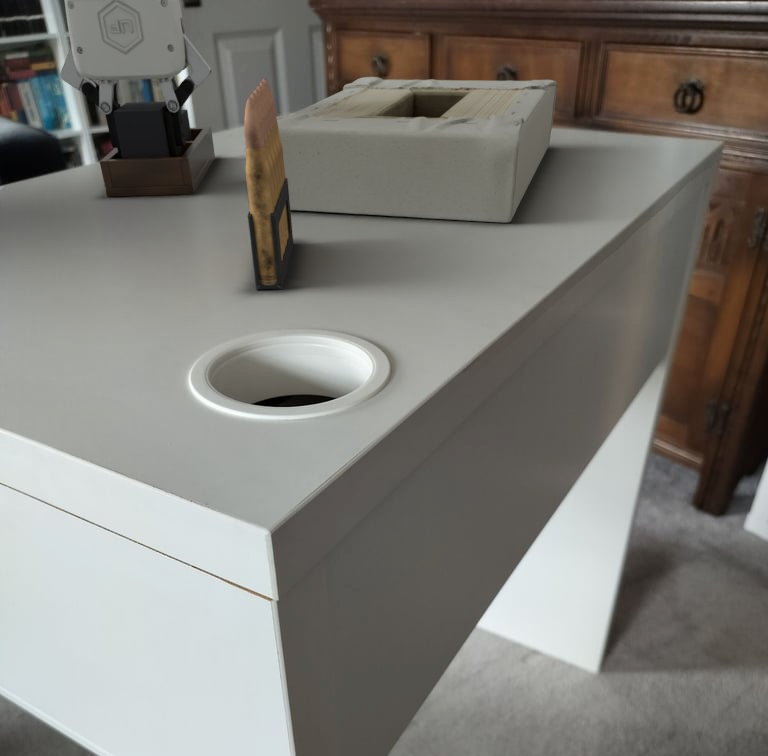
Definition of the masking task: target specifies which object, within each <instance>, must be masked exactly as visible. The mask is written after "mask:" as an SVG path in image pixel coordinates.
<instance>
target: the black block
mask: <svg viewBox="0 0 768 756" xmlns="http://www.w3.org/2000/svg"><path fill="white" fill-rule="evenodd" d="M165 105H166V103H165V101H137V102H136V101H135V102H134V101H131V102H130V101H129V102H125V103H123V104H121V105H120V106H121V107H120V108H118V109H117V110H115V111H114V117H115V122H116V127H117V132H118V137H119V143H120V148H121V153H122V158H123V159H136V158H163V157H172V156H170V153H169V146H168V140H167V134H166V128H165V122H164V113H165V112H166V111H165Z"/></svg>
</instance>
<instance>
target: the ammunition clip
mask: <svg viewBox="0 0 768 756" xmlns="http://www.w3.org/2000/svg"><path fill="white" fill-rule="evenodd" d="M276 109H277V108H276V104H275V100H274V95H273V92H272V88H271V86H270V83H269V81H268V79H267V78H263V79H262V80H261V81H260V82H259V84H258V85H257V86H256V88H255V89H254V90H253V92H252V93H250V96H249V97H248V98H247V100H246V104H245V109H244V121H243V122H244V124H243V125H244V127H243V128H244V130H243V131H244V144H245V161H246V162H245V181H246V188H247V198H248V206H249V211H248V214H247V221H248V222H247V223H248V229H249V239H250V247H251V248H250V249H251V257H252V266H253V274H254V282H255V290H256V291H259V290H260V291H261V290H283V288H284V285H285V280H286V276H287V273H288V268H289V263H290V259H291V257H292V256H291V255H292V251H293V248H294V236H293V235H294V234H293V225H292V224H293V223H292V214H291V213H292V212H291V210H290V201H289V190H288V179H287V178H285V170H284V160H283V149H282V142H281V139H280V135H279V130H278V122H277V118H278V116H277V110H276Z"/></svg>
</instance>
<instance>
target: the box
mask: <svg viewBox="0 0 768 756" xmlns="http://www.w3.org/2000/svg"><path fill="white" fill-rule="evenodd" d="M557 88H558V82H557V81H556V80H553V79H531V80H473V79H472V80H461V79H460V80H459V79H458V80H457V79H455V80H453V79H434V78H430V79H418V78H417V79H416V78H415V79H383V78H381V77H379V76H365V77H360V78H357V79H356V80H354V81H352V82H350V83H346V84H344V85H343V87H342V90H341V91H338V92H337V93H334V94H332V95H330V96H328V97H326V98H324V99H322V100H320V101H317V102H315V103H313V104H311V105H309V106H307V107H305V108H304V107H303V108H302V109H300V110H298V111H295V112H294V113H291V114H282V115H279V116H277V122H278V130H279V135H280V139H281V142H282V149H283V160H284V170H285V178H287V179H288V190H289V201H290V211H301V212H302V211H305V212H320V213H336V214H353V215H369V216H371V215H372V216H373V215H374V216H385V217H386V216H387V217H403V218H404V217H406V218H421V219H437V220H456V221H472V222H487V223H488V222H490V223H511V221H512V220H513V218H514V217H515V214H516V212H517V210H518V207H519V206H520V203H521V202H522V199H523V198H524V196H525V193H526V192H527V190H528V187H529V186H530V184H531V182H532V180H533V178H534V176H535V174H536V172H537V170H538V168H539V166H540V164H541V162H542V160H543V159H544V156H545V154H546V152H547V150H548V148H549V146H550V142H551V136H552V130H553V129H552V128H553V123H554V117H555V108H556V100H557V99H556V98H557Z"/></svg>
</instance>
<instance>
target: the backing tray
mask: <svg viewBox="0 0 768 756" xmlns="http://www.w3.org/2000/svg"><path fill="white" fill-rule="evenodd" d="M190 131H191V137H192V141H186V144H185V146H181V153H180V154H179V155H178V156H177V157H163V158H136V159H123V158H119V155H118V150H117V148H113V149H112V150H111V151H110V152H108V154H106V155H105V156H104V157H103V158H102V159H101V160H100V161H99V165H100V171H101V174H102V180H103V185H104V187H105V194H106V197H107V198H111V197H112V198H117V197H140V196H141V197H143V196H169V195H170V196H171V195H193V194H195V192H196V191H197V189H198V187H199V186H200V184H201V182H202V180H203V179H204V178H205V176H206V174H207V172H208V171H209V169H210V167H211V166H212V164H213V163H214V161H215V159H216V154H215V146H214V139H213V131H212V127H211V126H207V127H206V126H205V127H190Z"/></svg>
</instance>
